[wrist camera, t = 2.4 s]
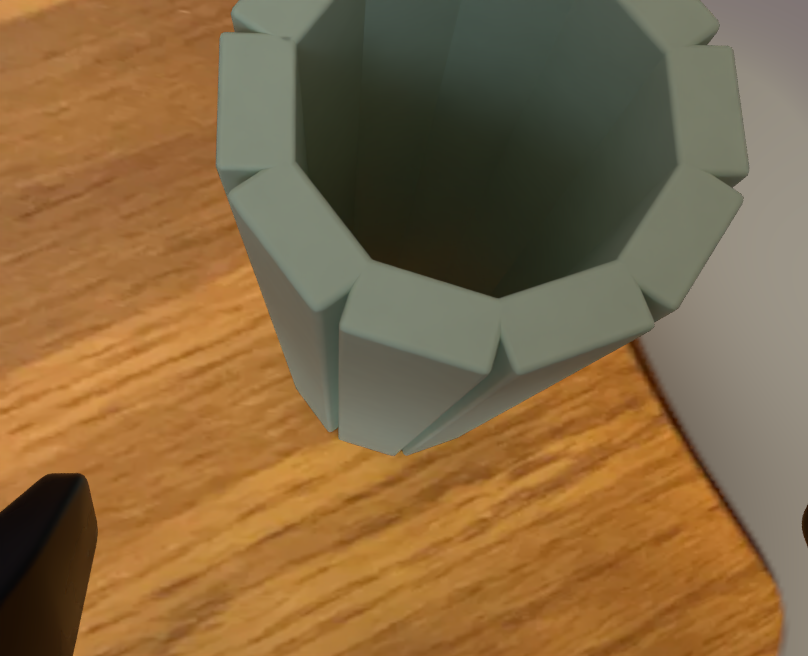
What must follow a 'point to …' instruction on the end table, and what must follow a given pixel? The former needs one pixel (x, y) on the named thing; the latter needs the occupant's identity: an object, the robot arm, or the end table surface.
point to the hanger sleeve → (470, 192)
